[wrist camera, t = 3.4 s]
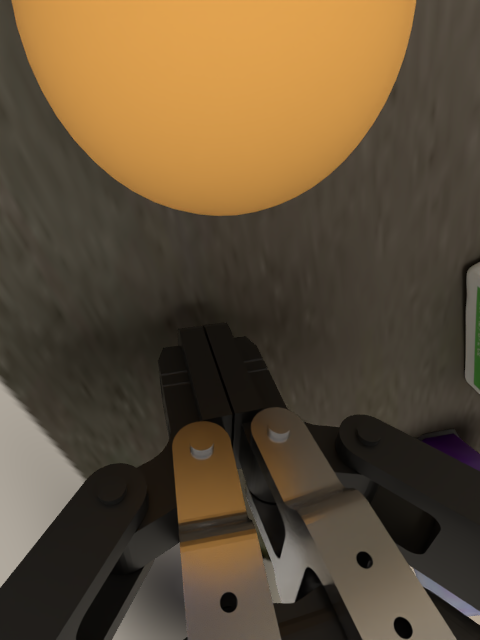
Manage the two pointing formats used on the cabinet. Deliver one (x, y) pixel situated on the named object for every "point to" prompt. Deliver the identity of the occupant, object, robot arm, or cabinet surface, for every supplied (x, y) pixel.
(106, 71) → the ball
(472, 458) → the potion bottle
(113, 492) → the robot arm
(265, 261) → the cabinet surface
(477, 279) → the skincare box
